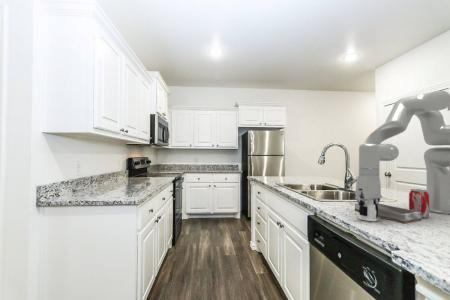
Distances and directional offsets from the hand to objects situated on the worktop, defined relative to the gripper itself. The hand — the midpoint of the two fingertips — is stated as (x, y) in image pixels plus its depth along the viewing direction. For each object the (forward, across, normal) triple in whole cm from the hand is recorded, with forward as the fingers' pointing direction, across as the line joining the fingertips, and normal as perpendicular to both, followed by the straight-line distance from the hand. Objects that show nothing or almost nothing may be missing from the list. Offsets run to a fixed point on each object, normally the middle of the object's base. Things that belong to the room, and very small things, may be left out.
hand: (368, 214), depth 98 cm
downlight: (+2, 0, 0) cm, 2 cm away
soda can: (+2, -26, +5) cm, 27 cm away
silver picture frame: (+2, -14, -2) cm, 15 cm away
